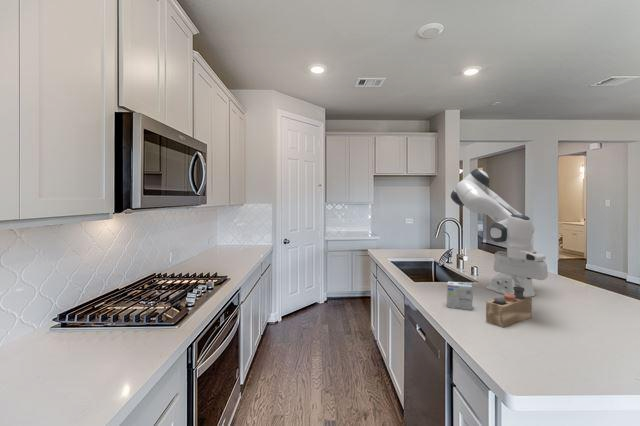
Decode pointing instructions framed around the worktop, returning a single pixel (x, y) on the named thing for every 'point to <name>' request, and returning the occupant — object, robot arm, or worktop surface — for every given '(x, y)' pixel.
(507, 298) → the plug mid
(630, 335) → the worktop surface
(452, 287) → the light bulb box
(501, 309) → the oak socket block
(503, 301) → the plug near
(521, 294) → the plug far
